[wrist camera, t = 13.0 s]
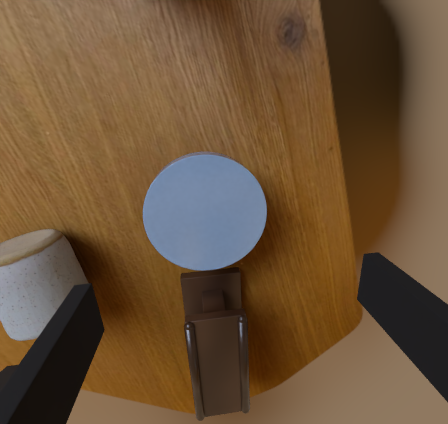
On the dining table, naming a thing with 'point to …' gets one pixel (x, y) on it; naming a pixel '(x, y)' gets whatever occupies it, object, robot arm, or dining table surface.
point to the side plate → (204, 211)
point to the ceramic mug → (35, 280)
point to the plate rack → (216, 341)
